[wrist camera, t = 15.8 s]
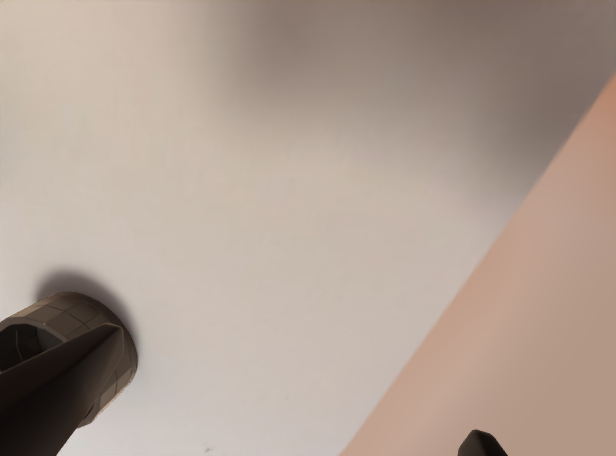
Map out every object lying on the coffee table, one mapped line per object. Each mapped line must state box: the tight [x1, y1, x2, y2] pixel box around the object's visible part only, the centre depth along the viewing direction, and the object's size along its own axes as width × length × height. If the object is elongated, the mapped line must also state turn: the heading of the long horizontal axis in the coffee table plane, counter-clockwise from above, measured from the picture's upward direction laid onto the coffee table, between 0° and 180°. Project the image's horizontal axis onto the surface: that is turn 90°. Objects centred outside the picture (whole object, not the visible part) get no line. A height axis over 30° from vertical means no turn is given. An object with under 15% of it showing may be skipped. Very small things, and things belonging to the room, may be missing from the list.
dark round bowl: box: [0, 292, 137, 429], centre depth 25 cm, size 9×9×4 cm
